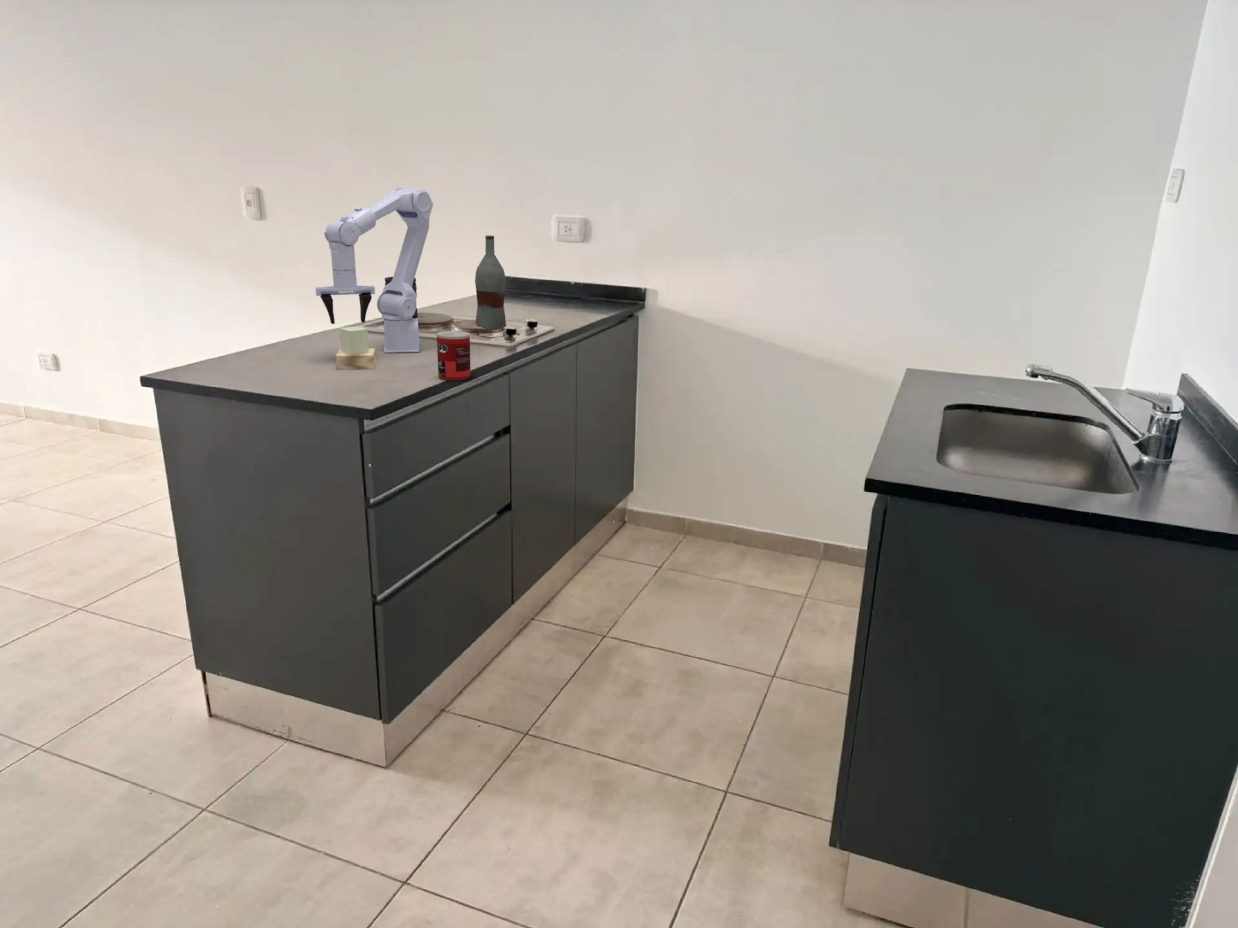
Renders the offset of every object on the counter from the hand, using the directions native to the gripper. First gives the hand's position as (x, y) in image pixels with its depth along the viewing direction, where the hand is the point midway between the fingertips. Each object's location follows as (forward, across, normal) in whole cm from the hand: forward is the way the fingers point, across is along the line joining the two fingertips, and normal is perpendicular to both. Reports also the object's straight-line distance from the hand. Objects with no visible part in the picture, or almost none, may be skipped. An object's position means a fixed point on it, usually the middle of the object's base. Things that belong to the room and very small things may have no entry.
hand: (347, 322), depth 221 cm
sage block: (+6, 0, +7) cm, 10 cm away
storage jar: (+10, -24, -46) cm, 53 cm away
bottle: (+10, -46, -23) cm, 53 cm away
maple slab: (+10, 0, +8) cm, 13 cm away
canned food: (+10, -20, +27) cm, 35 cm away
